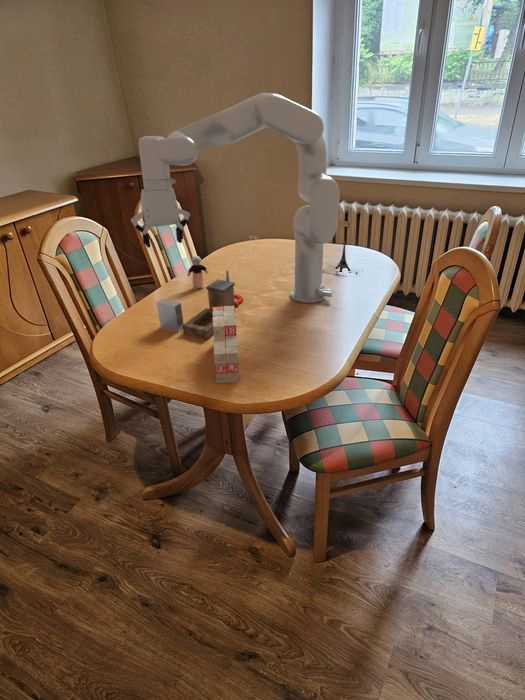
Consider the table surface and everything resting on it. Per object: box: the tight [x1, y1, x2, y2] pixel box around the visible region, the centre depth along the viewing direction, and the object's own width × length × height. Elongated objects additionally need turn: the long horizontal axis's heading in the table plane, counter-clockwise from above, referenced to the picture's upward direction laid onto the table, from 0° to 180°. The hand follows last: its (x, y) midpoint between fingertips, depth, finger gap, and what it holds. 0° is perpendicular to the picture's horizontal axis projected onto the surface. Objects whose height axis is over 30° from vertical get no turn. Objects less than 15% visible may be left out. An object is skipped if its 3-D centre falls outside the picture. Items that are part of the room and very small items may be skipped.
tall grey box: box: [156, 298, 184, 333], centre depth 144 cm, size 3×7×9 cm, turn 62°
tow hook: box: [225, 270, 244, 308], centre depth 159 cm, size 8×13×9 cm
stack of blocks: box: [213, 306, 240, 384], centre depth 126 cm, size 21×6×12 cm, turn 5°
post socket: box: [182, 278, 236, 341], centre depth 146 cm, size 9×19×11 cm, turn 152°
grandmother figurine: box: [186, 255, 209, 291], centre depth 170 cm, size 8×4×13 cm, turn 117°
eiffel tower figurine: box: [334, 241, 351, 272], centre depth 181 cm, size 15×10×13 cm
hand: (163, 244), depth 137 cm, fingers open, 9 cm apart
